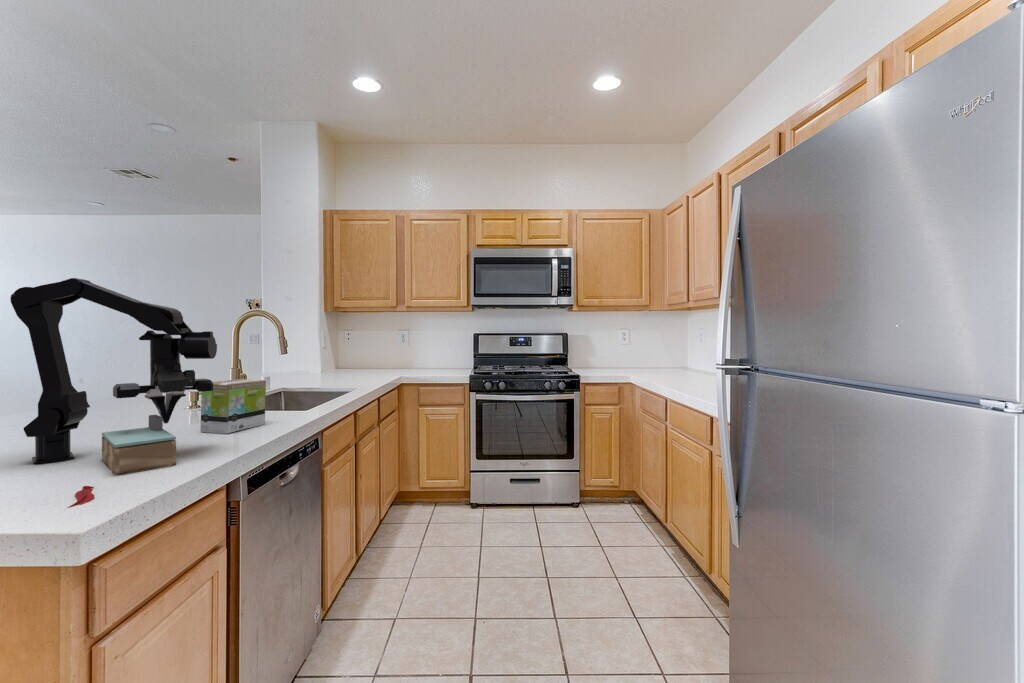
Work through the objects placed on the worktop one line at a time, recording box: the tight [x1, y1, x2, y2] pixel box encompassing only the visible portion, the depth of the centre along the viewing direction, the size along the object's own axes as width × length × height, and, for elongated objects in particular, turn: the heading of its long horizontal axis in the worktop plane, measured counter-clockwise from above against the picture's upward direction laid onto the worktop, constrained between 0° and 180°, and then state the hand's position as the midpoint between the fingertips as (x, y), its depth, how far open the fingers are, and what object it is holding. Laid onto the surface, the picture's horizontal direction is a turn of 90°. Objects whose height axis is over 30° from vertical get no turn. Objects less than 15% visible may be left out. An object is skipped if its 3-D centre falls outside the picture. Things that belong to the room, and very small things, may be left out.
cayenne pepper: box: [67, 485, 95, 509], centre depth 82 cm, size 12×5×2 cm, turn 18°
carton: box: [101, 436, 177, 476], centre depth 103 cm, size 16×10×6 cm, turn 49°
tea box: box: [199, 378, 267, 435], centre depth 140 cm, size 15×10×15 cm
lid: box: [101, 414, 177, 448], centre depth 103 cm, size 16×10×4 cm, turn 49°
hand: (165, 423), depth 110 cm, fingers closed
